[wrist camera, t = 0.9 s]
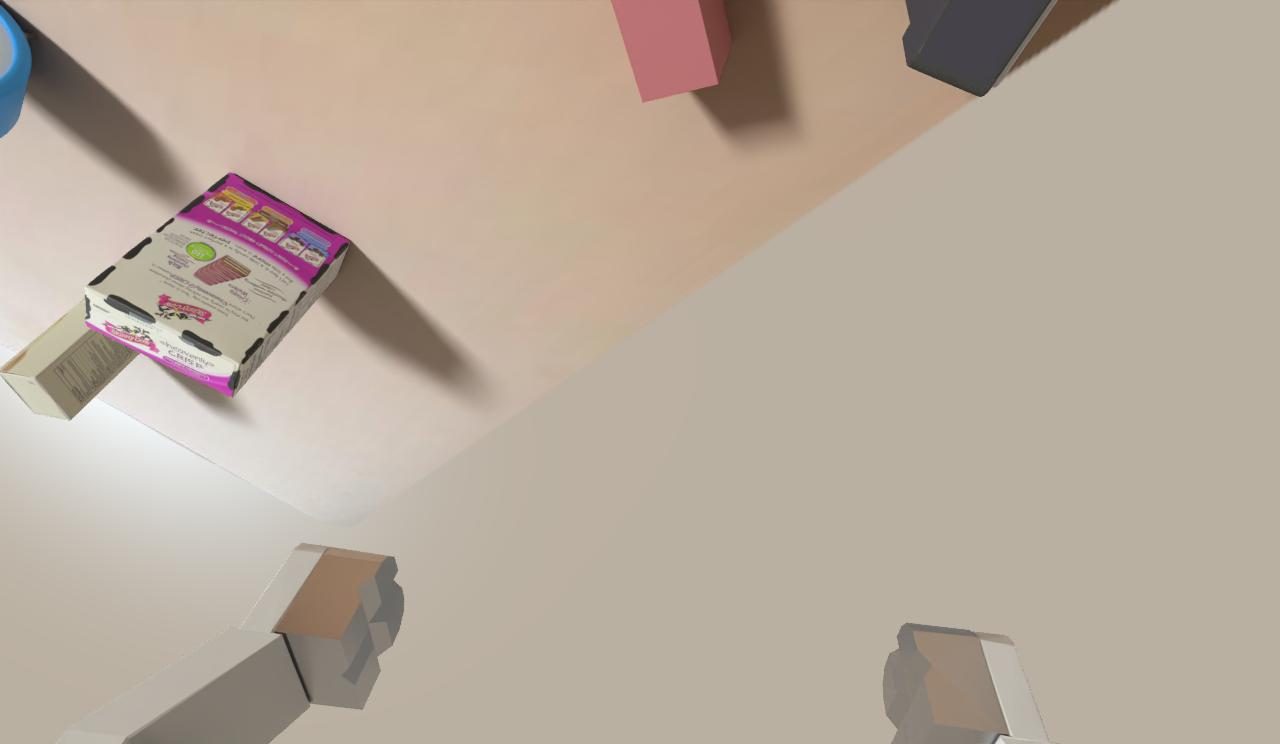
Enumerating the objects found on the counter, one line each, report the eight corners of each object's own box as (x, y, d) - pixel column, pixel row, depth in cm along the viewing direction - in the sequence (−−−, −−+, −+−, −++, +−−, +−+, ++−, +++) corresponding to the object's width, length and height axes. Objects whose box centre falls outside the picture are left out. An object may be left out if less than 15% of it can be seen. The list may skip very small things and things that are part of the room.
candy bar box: (223, 211, 62) (80, 327, 51) (230, 169, 59) (78, 282, 47) (341, 277, 65) (231, 402, 53) (354, 241, 62) (239, 365, 50)
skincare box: (92, 289, 74) (-9, 367, 65) (129, 295, 73) (32, 375, 64) (122, 336, 78) (31, 415, 69) (156, 342, 78) (70, 422, 69)
